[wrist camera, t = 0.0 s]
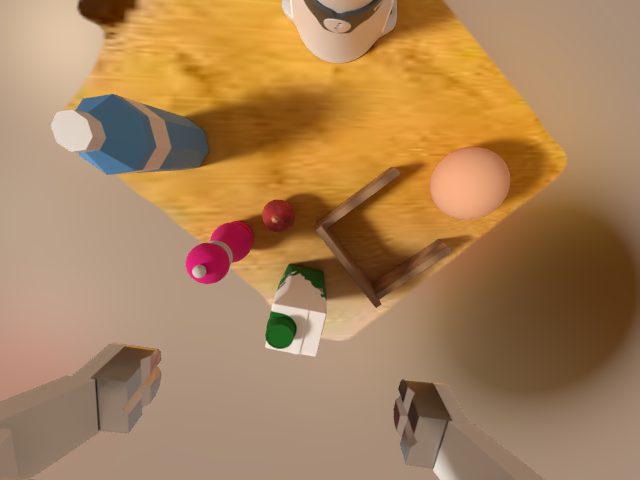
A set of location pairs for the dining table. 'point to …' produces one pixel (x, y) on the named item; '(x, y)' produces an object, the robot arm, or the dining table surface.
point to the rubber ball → (470, 183)
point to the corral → (370, 290)
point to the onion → (278, 215)
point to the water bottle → (130, 136)
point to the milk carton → (298, 312)
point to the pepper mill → (219, 252)
